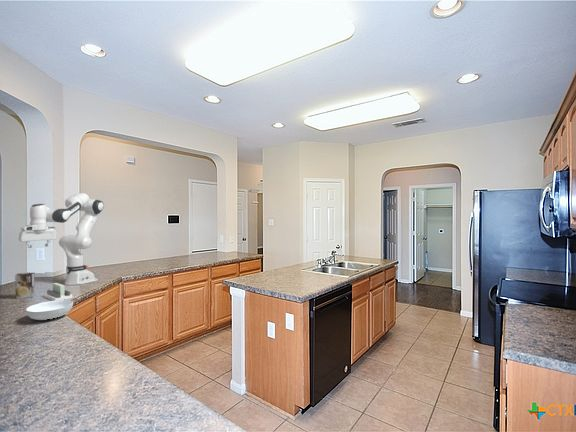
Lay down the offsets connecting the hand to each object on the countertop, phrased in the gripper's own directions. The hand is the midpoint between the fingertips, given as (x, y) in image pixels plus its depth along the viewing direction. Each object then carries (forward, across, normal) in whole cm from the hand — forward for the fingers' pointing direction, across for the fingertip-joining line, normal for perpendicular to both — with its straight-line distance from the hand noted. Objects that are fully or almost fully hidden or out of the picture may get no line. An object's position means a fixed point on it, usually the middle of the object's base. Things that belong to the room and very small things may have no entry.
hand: (38, 247), depth 204 cm
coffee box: (+34, +6, -4) cm, 35 cm away
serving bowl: (+34, +12, +53) cm, 65 cm away
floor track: (+34, -6, +15) cm, 38 cm away
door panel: (+32, -6, +15) cm, 36 cm away
